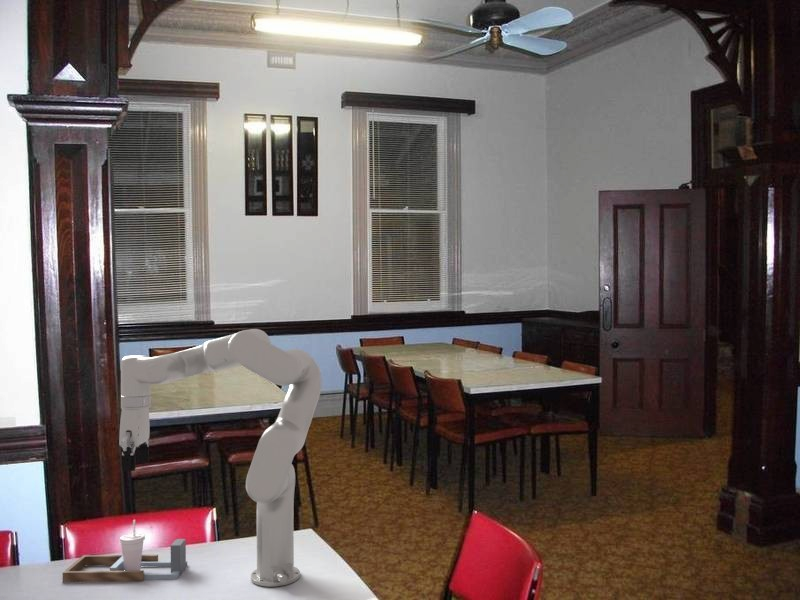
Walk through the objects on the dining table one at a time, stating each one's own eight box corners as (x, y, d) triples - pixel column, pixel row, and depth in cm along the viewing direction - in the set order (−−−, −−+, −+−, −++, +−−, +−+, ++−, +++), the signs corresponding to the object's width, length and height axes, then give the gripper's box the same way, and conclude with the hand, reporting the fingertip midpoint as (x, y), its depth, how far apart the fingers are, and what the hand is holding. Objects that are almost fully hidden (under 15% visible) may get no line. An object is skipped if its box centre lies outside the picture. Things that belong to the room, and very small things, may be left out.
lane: (158, 563, 199) (158, 554, 199) (142, 581, 187) (142, 571, 186) (83, 564, 199) (83, 555, 199) (62, 582, 186) (62, 572, 186)
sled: (188, 565, 197) (187, 536, 197) (177, 578, 188) (177, 548, 188) (123, 566, 197) (122, 536, 197) (109, 579, 188) (109, 549, 188)
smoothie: (140, 577, 190) (139, 523, 189) (115, 577, 190) (115, 524, 189) (148, 567, 196) (148, 516, 196) (125, 568, 196) (124, 516, 196)
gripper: (134, 397, 201) (134, 458, 201) (108, 407, 184) (108, 474, 184) (160, 397, 201) (160, 458, 201) (138, 407, 184) (138, 474, 184)
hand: (135, 466), depth 192 cm, fingers open, 9 cm apart
